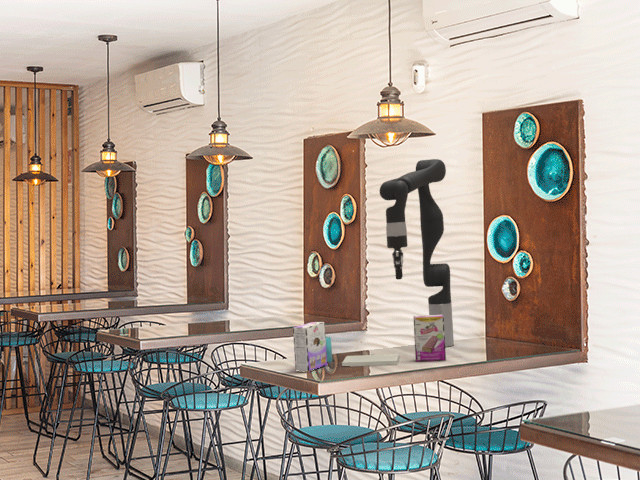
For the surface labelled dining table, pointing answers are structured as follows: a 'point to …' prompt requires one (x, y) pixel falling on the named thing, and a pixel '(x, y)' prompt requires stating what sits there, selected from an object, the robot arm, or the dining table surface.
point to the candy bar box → (429, 338)
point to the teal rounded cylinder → (329, 349)
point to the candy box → (310, 346)
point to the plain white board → (371, 360)
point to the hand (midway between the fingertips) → (399, 278)
